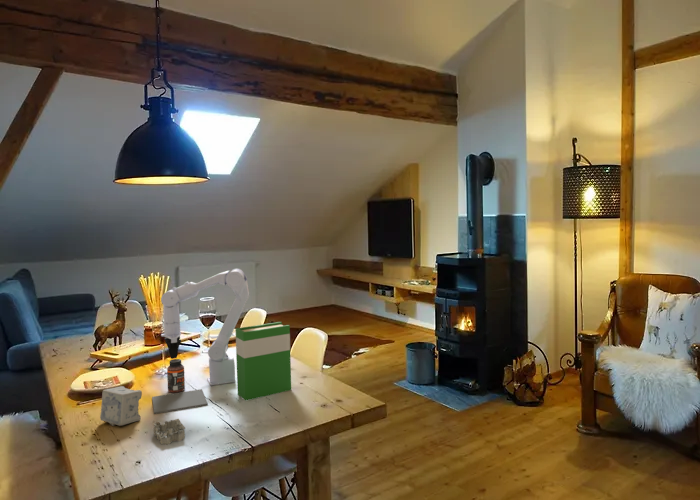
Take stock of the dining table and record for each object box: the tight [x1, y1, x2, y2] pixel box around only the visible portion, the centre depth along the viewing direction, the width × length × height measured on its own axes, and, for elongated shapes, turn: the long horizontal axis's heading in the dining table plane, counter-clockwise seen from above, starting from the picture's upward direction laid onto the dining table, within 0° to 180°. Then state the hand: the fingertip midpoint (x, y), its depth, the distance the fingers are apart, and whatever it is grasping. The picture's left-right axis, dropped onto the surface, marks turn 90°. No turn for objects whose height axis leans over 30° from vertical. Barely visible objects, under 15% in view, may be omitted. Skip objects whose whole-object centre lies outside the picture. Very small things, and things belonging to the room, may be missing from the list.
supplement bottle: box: [166, 358, 186, 394], centre depth 183 cm, size 6×6×11 cm
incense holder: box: [99, 385, 143, 427], centre depth 157 cm, size 10×8×10 cm
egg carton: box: [152, 418, 186, 445], centre depth 146 cm, size 11×8×4 cm
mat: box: [151, 388, 209, 415], centre depth 172 cm, size 17×15×1 cm
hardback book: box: [235, 321, 292, 402], centre depth 180 cm, size 18×7×24 cm, turn 124°
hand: (173, 357), depth 190 cm, fingers open, 3 cm apart
